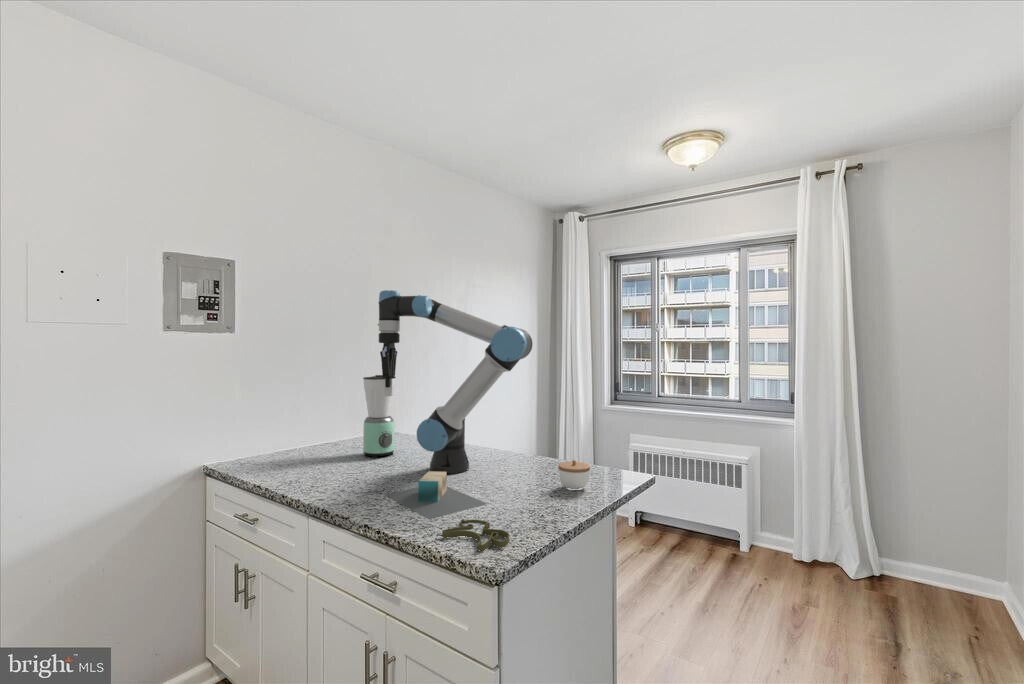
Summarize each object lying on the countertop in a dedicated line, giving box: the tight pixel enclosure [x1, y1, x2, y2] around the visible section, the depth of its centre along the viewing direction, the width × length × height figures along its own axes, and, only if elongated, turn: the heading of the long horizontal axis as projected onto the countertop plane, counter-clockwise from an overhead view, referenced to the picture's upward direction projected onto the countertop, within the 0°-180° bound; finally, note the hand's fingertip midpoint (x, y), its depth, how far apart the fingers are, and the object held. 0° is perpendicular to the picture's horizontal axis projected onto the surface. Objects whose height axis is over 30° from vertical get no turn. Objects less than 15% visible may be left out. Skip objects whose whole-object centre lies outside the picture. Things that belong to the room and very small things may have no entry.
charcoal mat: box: [384, 486, 488, 520], centre depth 148 cm, size 20×28×1 cm
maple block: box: [417, 470, 448, 502], centre depth 151 cm, size 6×6×12 cm
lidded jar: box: [557, 459, 591, 489], centre depth 163 cm, size 11×11×9 cm
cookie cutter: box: [441, 519, 510, 552], centre depth 121 cm, size 18×12×2 cm, turn 50°
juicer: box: [362, 374, 395, 459], centre depth 213 cm, size 19×13×35 cm
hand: (388, 395), depth 179 cm, fingers closed
